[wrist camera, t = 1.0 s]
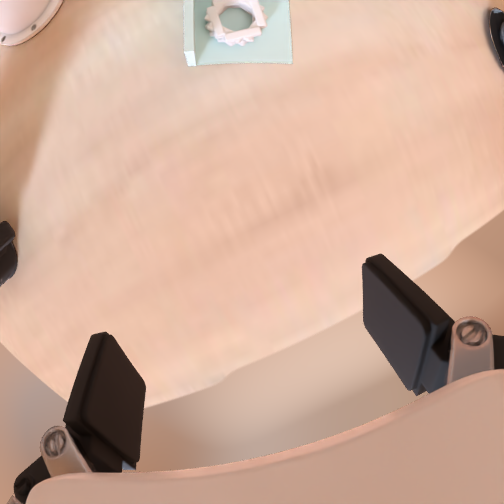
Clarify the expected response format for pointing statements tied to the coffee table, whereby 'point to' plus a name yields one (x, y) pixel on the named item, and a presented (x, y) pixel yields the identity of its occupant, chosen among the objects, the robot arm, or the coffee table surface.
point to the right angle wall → (237, 31)
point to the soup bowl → (497, 32)
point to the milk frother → (7, 252)
